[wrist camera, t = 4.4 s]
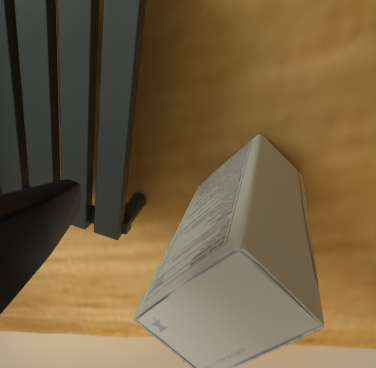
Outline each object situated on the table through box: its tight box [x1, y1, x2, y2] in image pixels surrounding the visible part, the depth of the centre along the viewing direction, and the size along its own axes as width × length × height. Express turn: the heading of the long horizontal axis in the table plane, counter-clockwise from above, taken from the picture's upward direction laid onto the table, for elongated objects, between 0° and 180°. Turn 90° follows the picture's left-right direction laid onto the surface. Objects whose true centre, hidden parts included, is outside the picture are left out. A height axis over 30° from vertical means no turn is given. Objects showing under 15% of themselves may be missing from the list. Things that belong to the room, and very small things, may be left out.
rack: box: [0, 0, 146, 240], centre depth 19 cm, size 12×16×7 cm
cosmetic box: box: [133, 134, 324, 368], centre depth 17 cm, size 6×4×12 cm
